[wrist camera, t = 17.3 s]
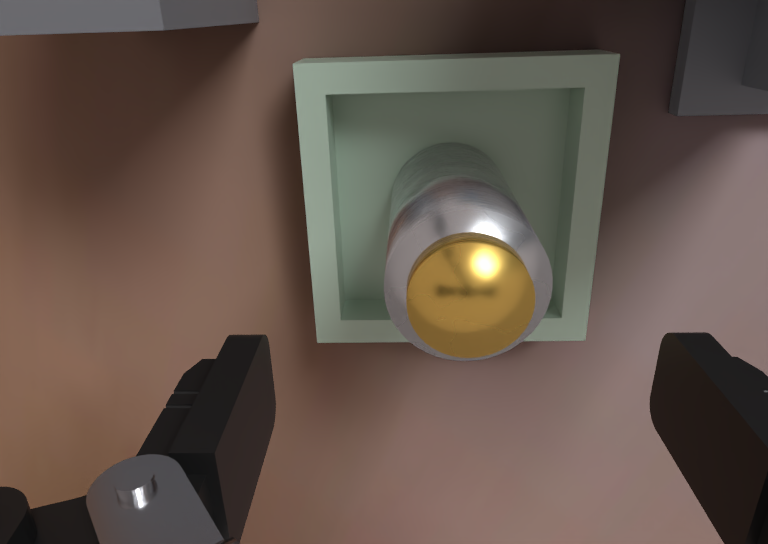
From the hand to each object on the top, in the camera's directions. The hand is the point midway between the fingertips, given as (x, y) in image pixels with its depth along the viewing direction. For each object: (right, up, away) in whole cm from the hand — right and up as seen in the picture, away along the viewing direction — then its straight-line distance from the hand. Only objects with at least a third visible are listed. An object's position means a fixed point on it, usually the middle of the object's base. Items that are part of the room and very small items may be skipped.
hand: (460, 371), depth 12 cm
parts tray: (+1, +5, +11) cm, 12 cm away
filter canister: (+1, +5, +11) cm, 12 cm away
